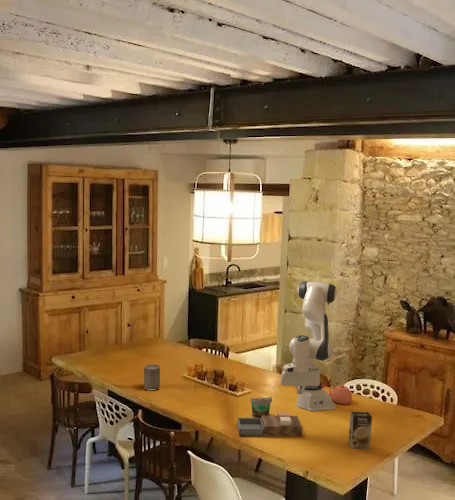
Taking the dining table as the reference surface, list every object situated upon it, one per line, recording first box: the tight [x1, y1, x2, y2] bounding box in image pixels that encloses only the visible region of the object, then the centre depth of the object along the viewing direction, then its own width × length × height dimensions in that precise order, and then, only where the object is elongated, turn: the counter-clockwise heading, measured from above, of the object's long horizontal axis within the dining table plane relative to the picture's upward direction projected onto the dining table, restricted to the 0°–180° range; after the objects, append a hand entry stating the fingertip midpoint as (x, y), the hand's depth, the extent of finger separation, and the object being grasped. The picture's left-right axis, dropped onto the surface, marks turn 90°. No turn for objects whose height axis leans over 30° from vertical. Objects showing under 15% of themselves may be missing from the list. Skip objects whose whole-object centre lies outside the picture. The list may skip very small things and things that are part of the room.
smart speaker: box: [143, 364, 161, 390], centre depth 364 cm, size 10×10×15 cm
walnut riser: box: [261, 414, 303, 437], centre depth 304 cm, size 19×15×5 cm
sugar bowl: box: [328, 384, 353, 405], centre depth 351 cm, size 12×14×10 cm
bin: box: [236, 417, 265, 437], centre depth 304 cm, size 12×15×4 cm
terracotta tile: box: [277, 411, 290, 420], centre depth 308 cm, size 5×5×2 cm
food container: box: [249, 396, 273, 418], centre depth 323 cm, size 12×6×10 cm, turn 105°
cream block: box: [280, 417, 291, 425], centre depth 301 cm, size 5×5×2 cm
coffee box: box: [348, 411, 373, 449], centre depth 288 cm, size 9×6×16 cm
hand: (299, 393), depth 307 cm, fingers closed
